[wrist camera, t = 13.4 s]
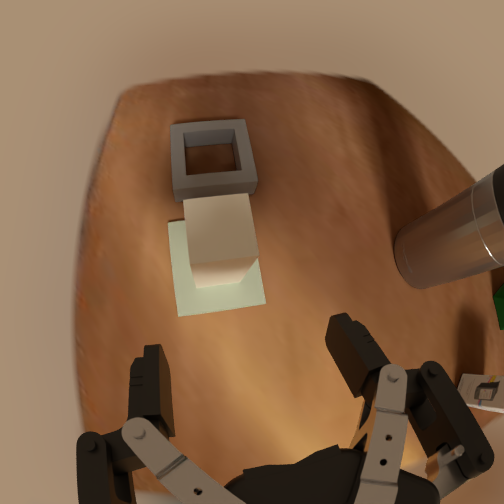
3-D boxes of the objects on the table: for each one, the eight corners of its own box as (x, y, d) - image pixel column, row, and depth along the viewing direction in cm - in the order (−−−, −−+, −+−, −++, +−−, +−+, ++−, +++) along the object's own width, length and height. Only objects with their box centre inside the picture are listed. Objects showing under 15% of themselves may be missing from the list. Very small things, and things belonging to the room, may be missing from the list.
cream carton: (233, 240, 30) (247, 193, 19) (239, 282, 29) (259, 255, 18) (190, 245, 29) (183, 199, 18) (196, 288, 28) (189, 264, 17)
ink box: (483, 382, 31) (535, 383, 19) (474, 410, 29) (525, 416, 18) (461, 372, 30) (519, 373, 19) (450, 403, 29) (509, 411, 18)
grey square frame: (241, 133, 34) (244, 119, 31) (253, 193, 32) (258, 181, 29) (172, 139, 32) (170, 124, 30) (175, 202, 30) (172, 189, 27)
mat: (248, 214, 31) (249, 212, 31) (265, 303, 29) (265, 303, 29) (168, 223, 30) (167, 222, 29) (178, 316, 27) (178, 316, 27)
